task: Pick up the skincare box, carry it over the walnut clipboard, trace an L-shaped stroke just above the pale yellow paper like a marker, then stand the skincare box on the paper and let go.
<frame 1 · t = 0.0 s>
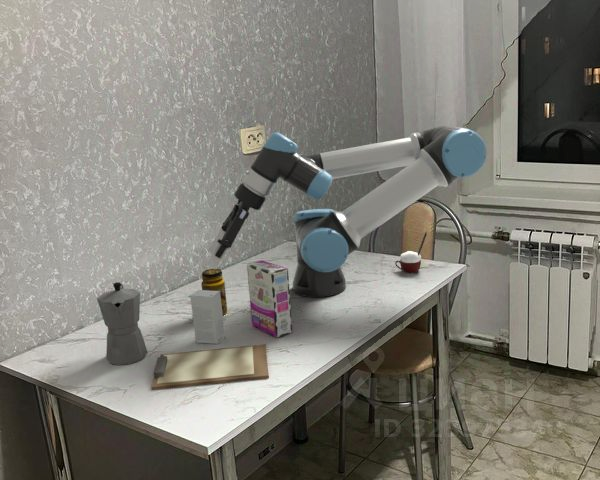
hand: (211, 259, 170), 15 cm above the table, tool tilted 35°, fingers open, 13 cm apart
clipboard: (212, 366, 143), on the table
coffeepot: (127, 355, 153), on the table
skincare box: (210, 341, 158), on the table
condiment: (213, 315, 174), on the table
cocoa: (411, 272, 199), on the table
candy bar box: (272, 330, 162), on the table
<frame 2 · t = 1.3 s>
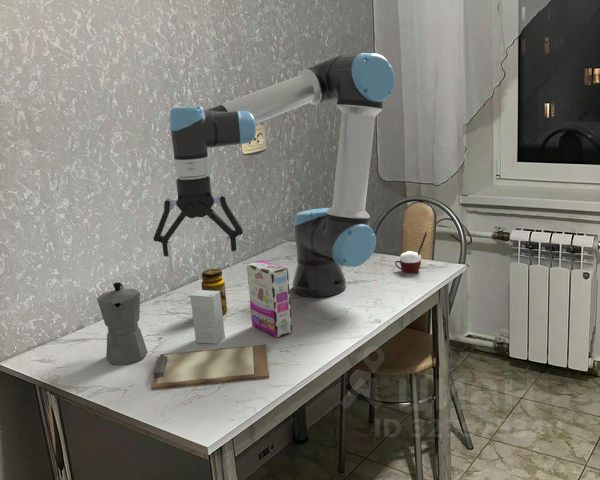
hand: (201, 267, 153), 18 cm above the table, tool pointing down, fingers open, 13 cm apart
nothing on the table moved.
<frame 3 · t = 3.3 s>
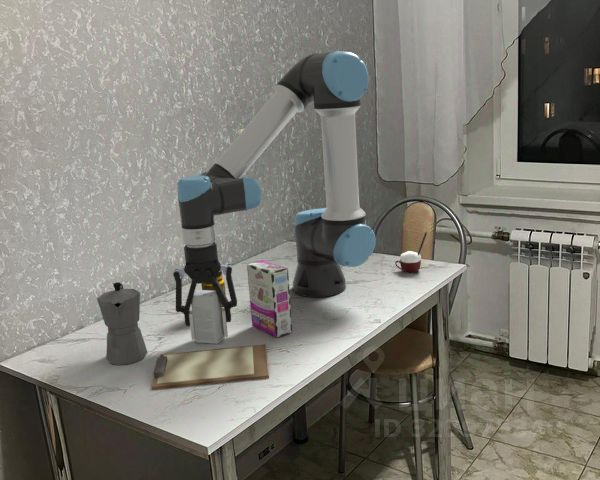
hand: (209, 335, 157), 1 cm above the table, tool pointing down, fingers closed on skincare box, 7 cm apart
skincare box: (210, 340, 158), on the table, touching gripper
everything else where it was.
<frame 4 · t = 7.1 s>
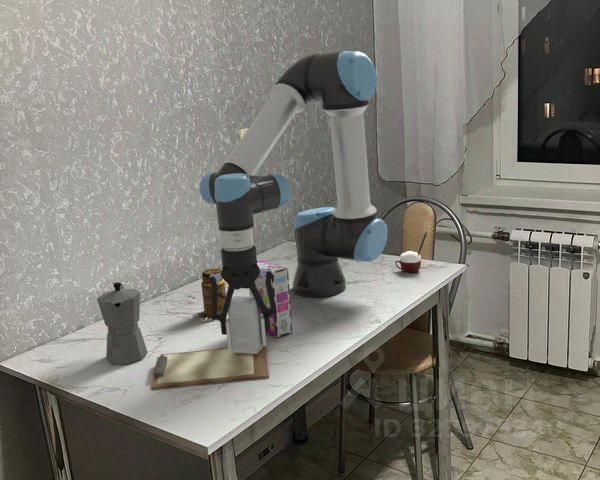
hand: (247, 345, 147), 3 cm above the table, tool pointing down, fingers closed on skincare box, 7 cm apart
skincare box: (247, 350, 147), point 1 cm above the table, touching gripper
everything else where it was.
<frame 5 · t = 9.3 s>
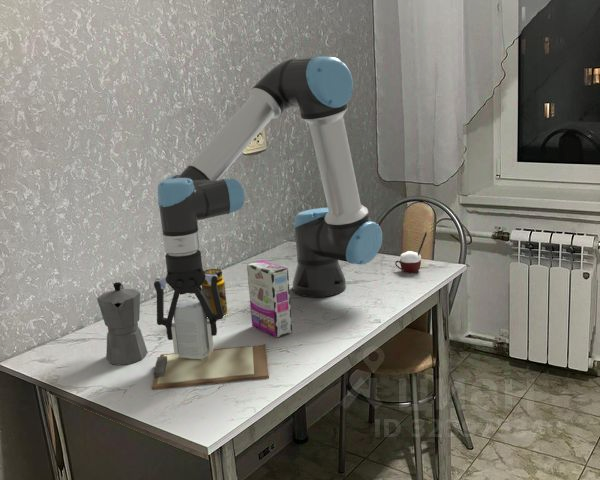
hand: (194, 350, 146), 3 cm above the table, tool pointing down, fingers closed on skincare box, 7 cm apart
skincare box: (194, 355, 147), point 1 cm above the table, touching gripper
everything else where it was.
when the fingers open (2 cm above the table, at t = 11.0 s): skincare box stays where it is, resting on clipboard.
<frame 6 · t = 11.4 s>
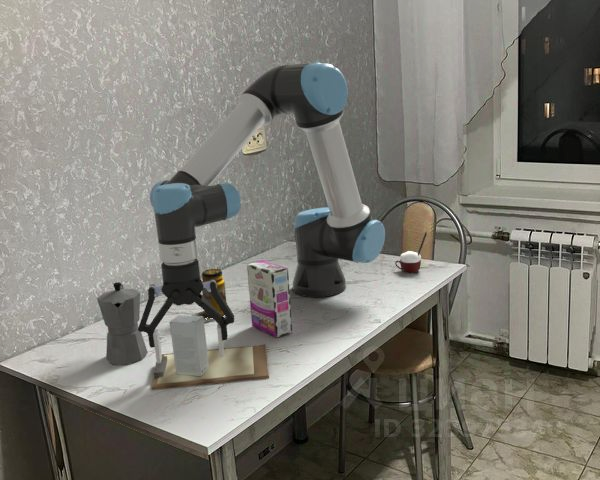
hand: (190, 357, 139), 4 cm above the table, tool pointing down, fingers open, 12 cm apart
skincare box: (192, 372, 140), point 1 cm above the table, touching clipboard
everything else where it was.
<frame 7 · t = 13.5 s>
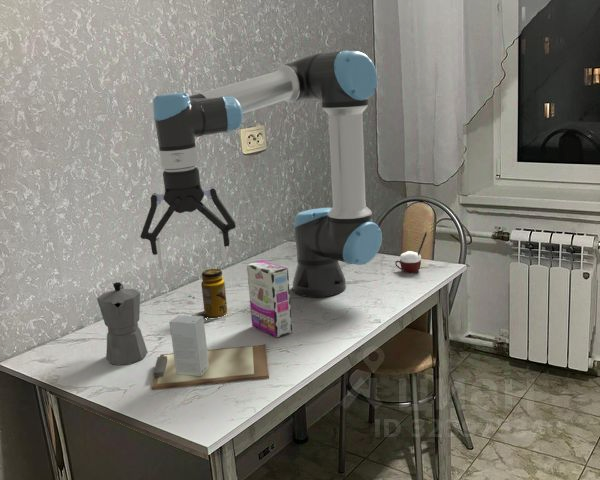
hand: (193, 264, 144), 22 cm above the table, tool pointing down, fingers open, 13 cm apart
nothing on the table moved.
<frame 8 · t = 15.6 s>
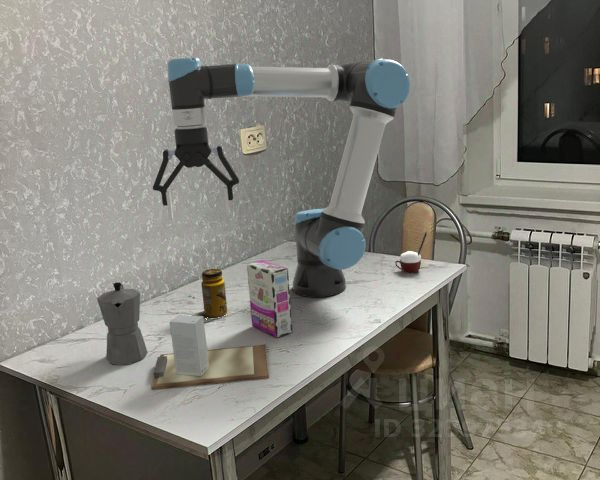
hand: (199, 216, 158), 29 cm above the table, tool pointing down, fingers open, 13 cm apart
nothing on the table moved.
at the end: skincare box inside the target area on the clipboard (5.0 cm from its centre), point 0.6 cm above the clipboard's base; skincare box tilted 0°; the gripper is holding nothing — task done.
